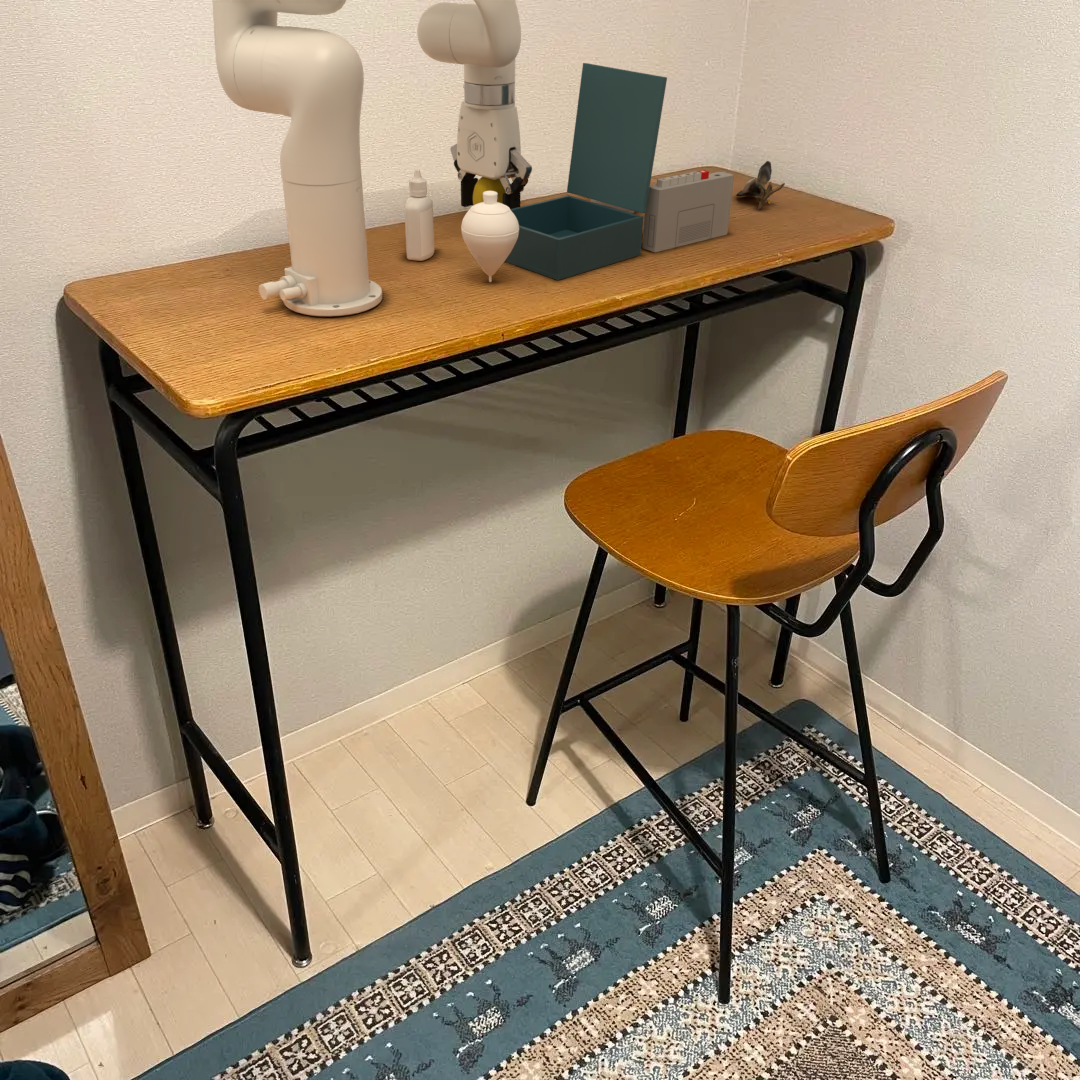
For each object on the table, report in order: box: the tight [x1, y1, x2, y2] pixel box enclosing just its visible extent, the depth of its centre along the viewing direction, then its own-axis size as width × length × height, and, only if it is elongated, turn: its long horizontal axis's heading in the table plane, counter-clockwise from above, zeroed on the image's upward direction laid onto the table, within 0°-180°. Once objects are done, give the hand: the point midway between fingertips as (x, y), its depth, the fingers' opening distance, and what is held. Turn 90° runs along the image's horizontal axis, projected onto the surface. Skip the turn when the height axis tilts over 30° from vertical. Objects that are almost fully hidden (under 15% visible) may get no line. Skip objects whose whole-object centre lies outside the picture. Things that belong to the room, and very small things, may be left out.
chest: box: [504, 194, 644, 281], centre depth 151 cm, size 17×15×6 cm
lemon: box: [472, 176, 506, 206], centre depth 162 cm, size 6×6×8 cm
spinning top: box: [460, 191, 519, 283], centre depth 138 cm, size 8×8×12 cm
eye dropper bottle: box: [404, 169, 436, 262], centre depth 147 cm, size 4×6×12 cm
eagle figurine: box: [735, 160, 786, 211], centre depth 176 cm, size 8×7×9 cm
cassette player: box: [641, 169, 735, 253], centre depth 156 cm, size 16×3×10 cm, turn 129°
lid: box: [566, 62, 668, 214], centre depth 150 cm, size 18×15×1 cm
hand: (490, 211), depth 163 cm, fingers open, 9 cm apart
